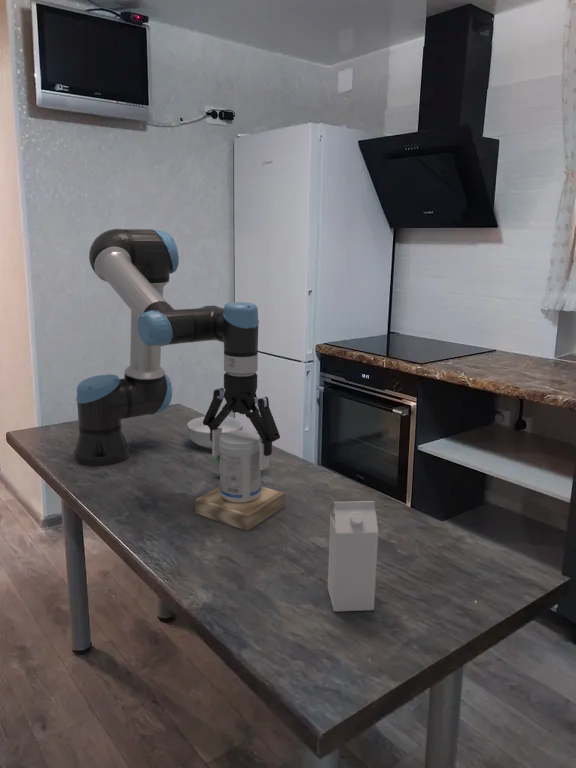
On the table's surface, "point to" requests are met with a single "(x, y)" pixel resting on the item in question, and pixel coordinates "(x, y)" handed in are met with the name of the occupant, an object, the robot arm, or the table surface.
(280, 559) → the table surface
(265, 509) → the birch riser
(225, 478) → the supplement tub
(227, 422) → the cereal bowl
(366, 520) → the milk carton
